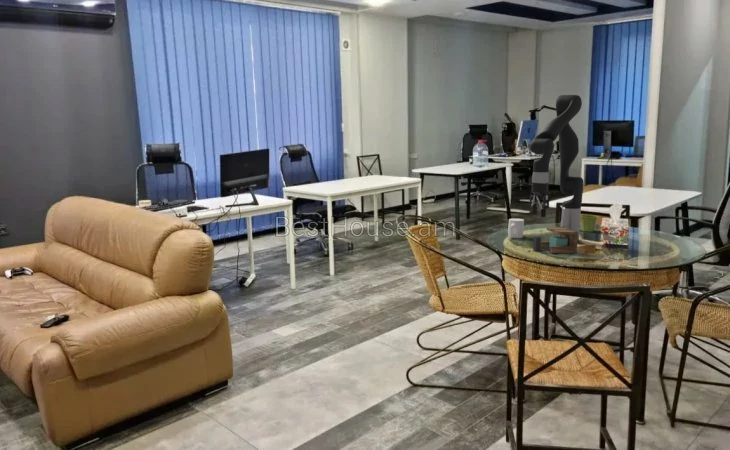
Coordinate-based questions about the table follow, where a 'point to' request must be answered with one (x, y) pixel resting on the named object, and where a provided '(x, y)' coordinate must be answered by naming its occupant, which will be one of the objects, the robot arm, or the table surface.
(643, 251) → the table surface
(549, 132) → the robot arm
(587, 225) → the plant pot
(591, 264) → the table surface
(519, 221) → the mug
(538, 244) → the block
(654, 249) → the table surface
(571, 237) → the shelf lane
